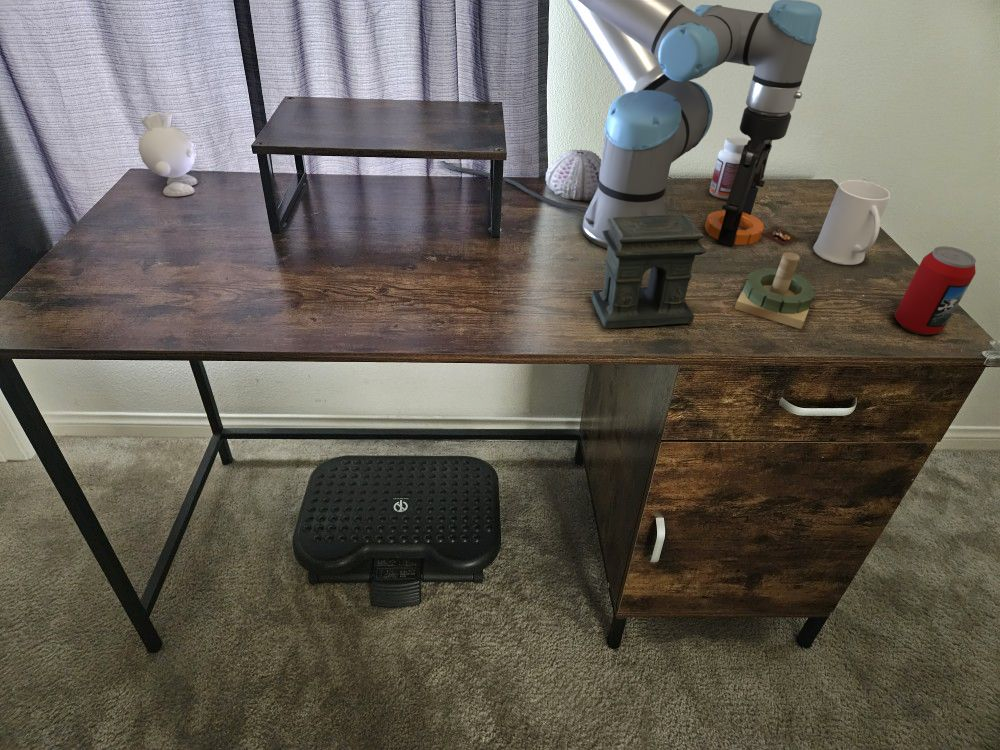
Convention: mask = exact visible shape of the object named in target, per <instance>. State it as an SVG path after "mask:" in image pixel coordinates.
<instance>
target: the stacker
mask: <svg viewBox="0 0 1000 750" xmlns="http://www.w3.org/2000/svg"><path fill="white" fill-rule="evenodd" d="M800 258H801V257H800V255H798V254H797V253H794V252H791V251H790V252H788V251H787V252H783V253H782V255H781V259H780V262H779V265H778V267H777V268H772V267H768V268H767V267H763V268H759V269H755V270H753V271H751V272H749V274H748V275H747V277H746V279H745V282H744V285H743V286H744V287H743V289H742V291H741V292H740V294H739V296H738V298H737V300H736V302H735V305H734V310H737V311H740V312H744V313H746V314H750V315H753V316H756V317H760V318H763V319H766V320H769V321H773V322H776V323H778V324H782V325H785V326H788V327H793V328H795V329H799V330H802V329H803V325H804V323H805V321H806V318H807V316H808V313H809V310H810V309H811V305H812V303H813V301H814V298H815V296H816V293H817V291H816V288H815V286H814V285H813V284H812V282H811V281H809V280H808V279H807V278H805V277H803V276H801V275H800V274H798V273H797V274H795V272H796V270H797V268H798V264H799V261H800Z"/></svg>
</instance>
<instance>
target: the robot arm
mask: <svg viewBox="0 0 1000 750" xmlns="http://www.w3.org/2000/svg"><path fill="white" fill-rule="evenodd" d="M566 2H567V3H568V5H569V7H570V8H571V9H572V12H573V13H574V14H575V16H576V18H577V19H578V21H579V23H580V24H581V26H582V27H583V29H584V31H585V32H586V34H587V35H588V38H589V39H590V40H591V42H592V44H593V45H594V47H595V48H596V50H597V51H598V53H599V55H600V57H601V59H602V60H603V61H604V63H605V65H606V67H607V68H608V70H609V71H610V74H611V75H612V76H613V78H614V79H615V81H616V83H617V85H618V86H619V87H620V89H621V91H622V93H623V94H621V95H619V96H618V97H616V98H615V99H614V100H613V101H612V103H611V104H610V106H609V109H608V113H607V117H606V120H605V122H604V138H603V143H602V144H603V145H602V151H601V158H600V159H601V167H600V175H599V182H598V188H597V191H596V193H595V195H594V197H593V199H591V200H590V203H589V205H588V207H585V206H579V205H576V204H569V203H562V202H559V201H555V200H552V199H550V198H548V197H546V196H544V195H542V194H540V193H537V192H536V191H534V190H532V189H530V188H528V187H526V186H525V185H523V184H522V183H521V182H518V181H517V180H514V179H512V178H509V177H507V176H504V180H503V182H506V183H508V184H511V185H513V186H515V187H517V188H518V189H519V190H522V191H523V192H524V193H526V194H528V195H530V196H532V197H534V198H536V199H538V200H539V201H542V202H544V203H546V204H548V205H551V206H553V207H556V208H561V209H566V210H573V211H578V212H582V213H584V216H583V219H582V226H581V231H582V233H583V235H584V237H585V238H586V239H587V240H588V241H590V242H591V243H592V244H595V245H596V246H598V247H601V248H602V249H603V248H604V249H607V250H608V243H607V241H606V240H605V238H604V235H603V233H602V231H605V230H610V225H609V223H608V222H607V220H608V219H610V218H613V217H635V216H657V215H667V210H666V204H665V193H666V190H667V189H666V188H667V184H668V180H669V179H668V178H669V175H670V170H671V166H672V164H673V163H674V162H675V161H677V160H678V159H680V157H682V156H683V155H685V154H686V153H688V152H690V151H691V150H692V149H695V148H696V147H697V146H698V145H699V144H700V142H701V141H702V140H703V139H704V137H706V135H707V133H708V132H709V130H710V128H711V125H712V121H713V117H714V116H713V115H714V109H713V103H712V99H711V97H710V94H709V93H708V92H707V90H706V89H705V88H704V87H703V86H702V85H701V84H699V83H698V82H695V81H692V80H696V79H699V78H702V77H704V76H705V75H707V74H708V73H709V72H710V71H712V70H713V69H715V68H717V67H719V66H721V65H722V64H724V63H730V64H731V63H732V64H737V65H743V66H746V67H747V66H748V67H754V72H753V75H752V78H751V82H750V84H749V89H748V92H747V95H746V99H745V104H746V107H745V108H744V109H743V112H742V116H741V121H740V124H739V131H740V132H741V134H743V135H745V136H747V137H749V138H750V139H747V140H748V143H747V145H746V144H745V146H744V148H743V151H742V154H741V159H740V163H739V166H738V169H737V173H736V176H735V179H734V182H733V185H732V188H731V191H730V194H729V197H728V199H726V204H722V206H721V210H725V211H726V212H725V216H724V220H723V223H722V227H721V231H720V234H719V238H718V240H717V242H716V243H718V244H721V245H724V246H729V247H733V246H734V241H735V237H736V234H737V230H739V227H740V226H739V223H740V220H741V217H742V213H743V212H744V213H748V215H752V211H753V209H754V206H755V201H756V198H757V195H758V192H759V187H760V188H764V186H765V182H766V181H765V180H763V179H764V177H765V172H766V167H767V164H768V159H769V156H770V153H771V150H772V147H773V141H778V140H781V139H783V138H784V137H785V136H786V135H787V133H788V129H789V126H790V123H791V120H792V113H791V112H792V111H794V110H795V105H796V102H797V99H798V100H800V99H801V98H802V97H803V93H802V91H799V90H800V89H801V86H802V84H803V80H804V77H805V74H806V71H807V67H808V65H809V61H810V58H811V55H812V52H813V49H814V46H815V43H816V41H817V35H818V32H819V27H820V23H821V19H822V16H823V11H822V8H821V7H820V5H819V4H817V3H815V2H811V1H806V0H776V1H774V2H773V3H772V4H771V7H770V9H769V11H768V12H759V11H752V10H745V9H741V8H740V9H739V8H734V7H729V6H728V7H726V6H723V5H721V4H715V5H710V4H700V5H697V6H696V7H695V8H694V9H693V10H692V9H691V8H689V7H687V6H686V5H684V4H683V3H682V2H680V1H679V0H566ZM437 161H438V162H439V163H440V164H441V165H442V166H443V167H444V168H446V169H448V170H452V171H456V172H460V173H467V174H473V175H477V176H478V175H479V176H482V177H487V178H491V177H490V173H491V172H488V171H484V170H478V169H473V168H466V167H460V166H455V165H452V164H449V163H447V162H446V161H445V160H444V161H439V160H438V159H437Z"/></svg>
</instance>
